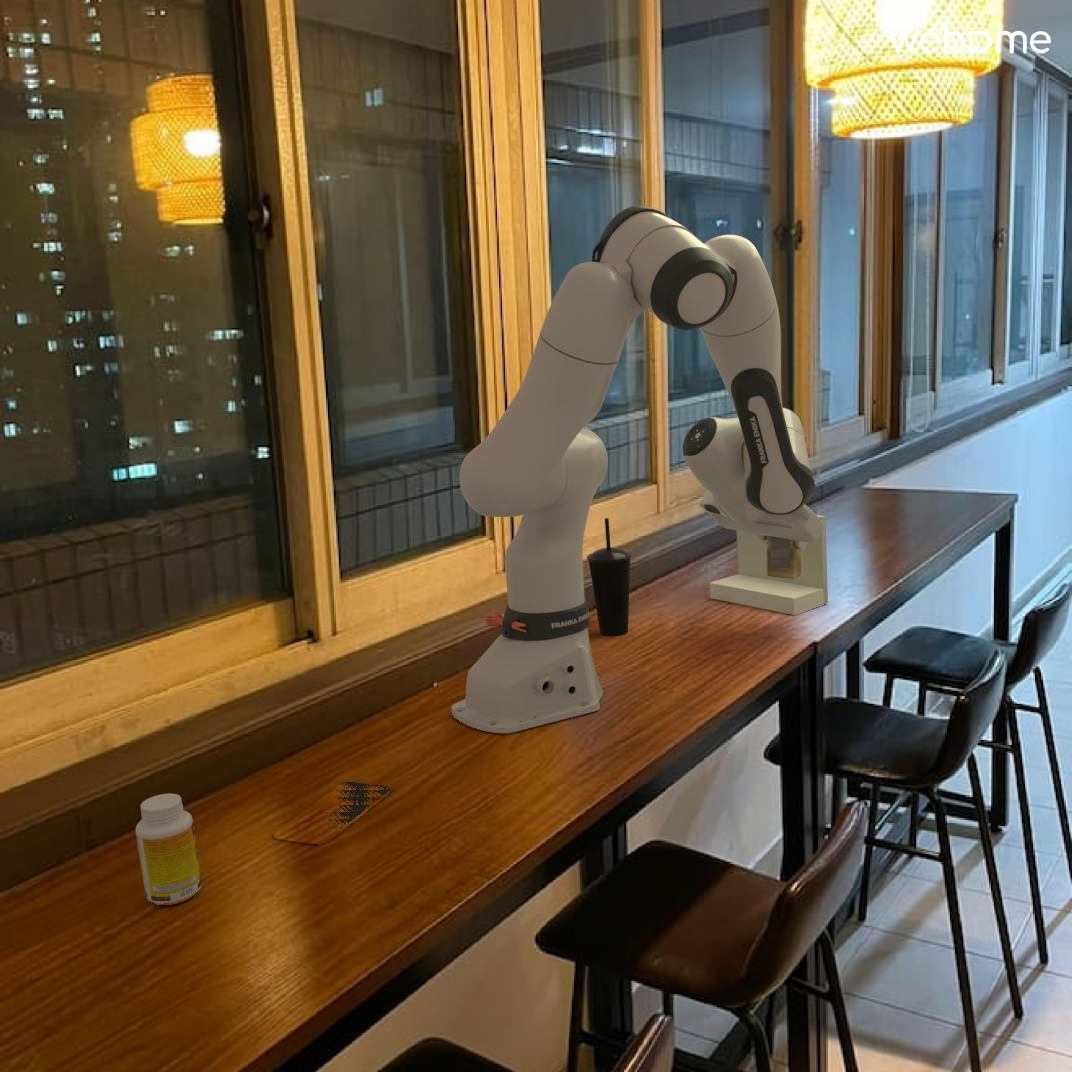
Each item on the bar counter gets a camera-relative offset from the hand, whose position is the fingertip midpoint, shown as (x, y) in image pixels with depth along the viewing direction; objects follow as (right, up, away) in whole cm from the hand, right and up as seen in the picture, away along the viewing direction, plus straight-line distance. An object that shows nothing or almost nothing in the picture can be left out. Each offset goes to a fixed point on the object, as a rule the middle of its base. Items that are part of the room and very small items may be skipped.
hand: (786, 543), depth 193 cm
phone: (-66, -32, -59) cm, 94 cm away
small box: (0, -5, +1) cm, 5 cm away
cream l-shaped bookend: (0, -11, +16) cm, 19 cm away
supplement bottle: (-79, -36, -76) cm, 115 cm away
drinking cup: (-29, -15, +5) cm, 33 cm away
